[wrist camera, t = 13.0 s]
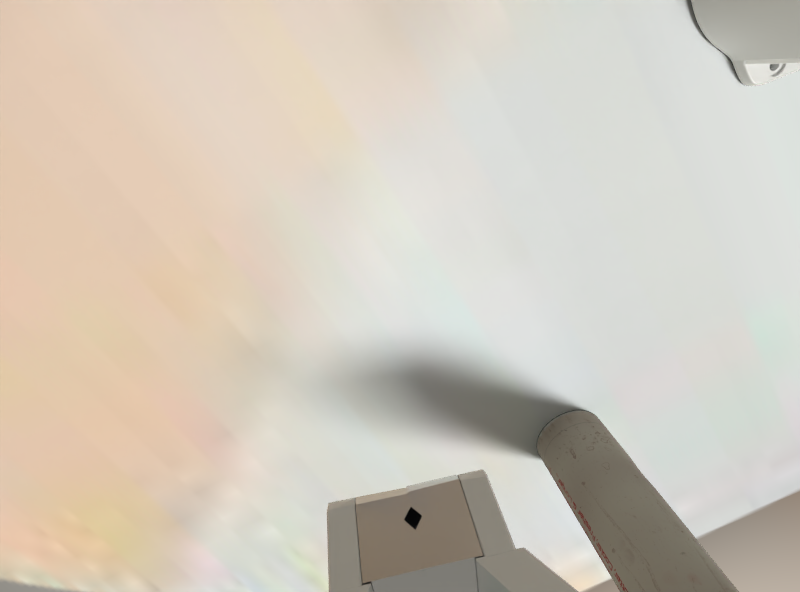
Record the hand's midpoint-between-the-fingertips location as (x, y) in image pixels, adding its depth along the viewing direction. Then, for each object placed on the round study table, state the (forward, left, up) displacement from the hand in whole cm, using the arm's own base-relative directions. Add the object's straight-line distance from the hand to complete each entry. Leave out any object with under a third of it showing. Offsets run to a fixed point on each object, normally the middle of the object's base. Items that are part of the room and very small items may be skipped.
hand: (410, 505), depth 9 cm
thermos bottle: (-21, +35, -32) cm, 52 cm away
